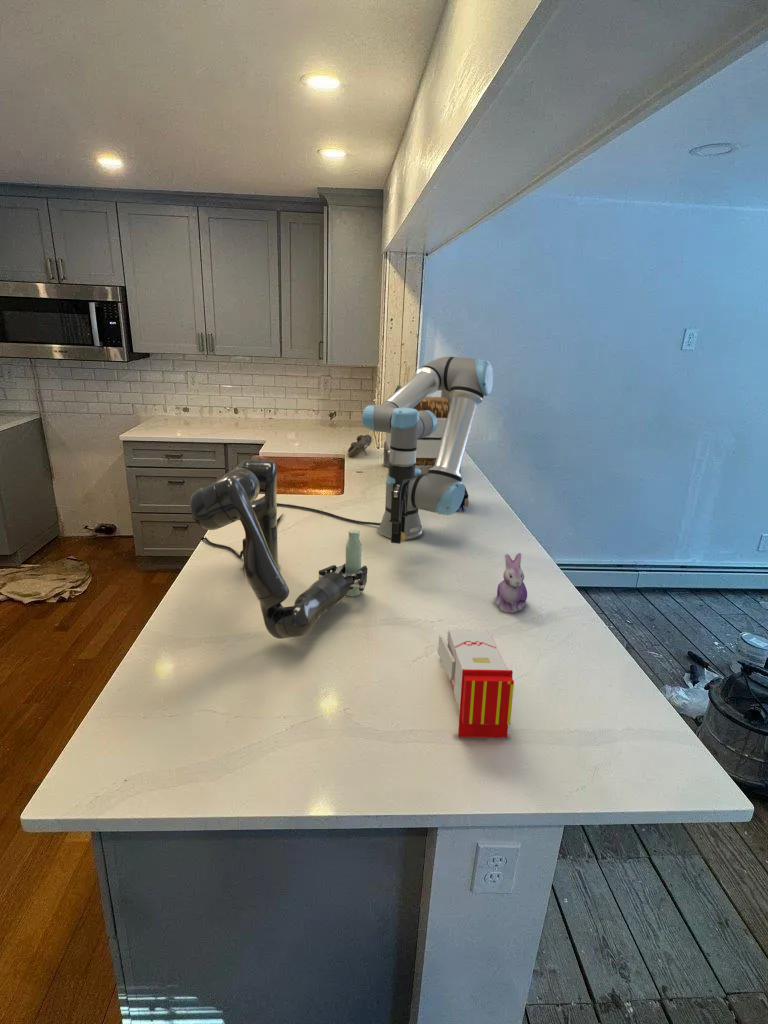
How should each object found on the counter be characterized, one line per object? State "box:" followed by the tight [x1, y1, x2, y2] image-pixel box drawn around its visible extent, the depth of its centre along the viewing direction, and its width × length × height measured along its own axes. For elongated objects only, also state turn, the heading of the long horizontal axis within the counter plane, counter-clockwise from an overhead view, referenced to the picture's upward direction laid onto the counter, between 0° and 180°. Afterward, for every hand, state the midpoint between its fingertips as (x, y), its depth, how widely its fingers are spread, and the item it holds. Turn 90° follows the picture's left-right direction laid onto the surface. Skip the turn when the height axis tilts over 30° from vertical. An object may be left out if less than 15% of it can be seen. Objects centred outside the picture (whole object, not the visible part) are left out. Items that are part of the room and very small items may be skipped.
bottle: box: [344, 528, 363, 597], centre depth 154 cm, size 4×4×18 cm
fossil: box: [347, 434, 373, 459], centre depth 304 cm, size 22×10×15 cm
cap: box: [391, 532, 406, 542], centre depth 168 cm, size 4×4×2 cm
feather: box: [277, 513, 284, 525], centre depth 210 cm, size 2×28×2 cm
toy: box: [437, 628, 515, 738], centre depth 117 cm, size 12×13×30 cm
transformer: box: [383, 384, 462, 475], centre depth 268 cm, size 34×33×41 cm
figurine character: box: [458, 486, 470, 512], centre depth 229 cm, size 7×8×15 cm
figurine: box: [495, 552, 528, 614], centre depth 152 cm, size 9×10×15 cm
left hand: (357, 567), depth 158 cm, fingers closed on bottle, 4 cm apart
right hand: (397, 539), depth 168 cm, fingers closed on cap, 4 cm apart
